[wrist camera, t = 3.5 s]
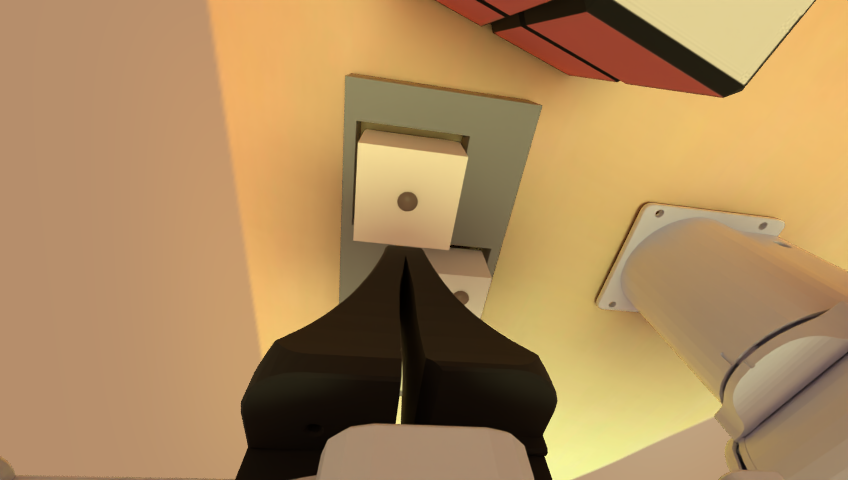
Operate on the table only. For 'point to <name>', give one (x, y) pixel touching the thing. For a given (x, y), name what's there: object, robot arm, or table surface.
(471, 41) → the table surface
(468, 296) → the tile two
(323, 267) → the table surface
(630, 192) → the table surface
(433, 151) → the tile one
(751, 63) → the puzzle cube
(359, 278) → the tile board
